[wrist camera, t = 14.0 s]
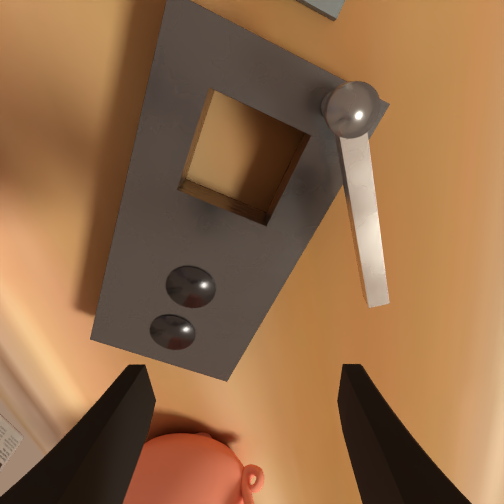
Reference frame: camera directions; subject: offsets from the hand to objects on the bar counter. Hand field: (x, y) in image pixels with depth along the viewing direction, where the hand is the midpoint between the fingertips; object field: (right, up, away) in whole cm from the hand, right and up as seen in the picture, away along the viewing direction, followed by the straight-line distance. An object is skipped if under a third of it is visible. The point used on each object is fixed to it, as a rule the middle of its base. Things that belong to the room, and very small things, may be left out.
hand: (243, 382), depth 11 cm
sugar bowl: (-5, -15, +20) cm, 26 cm away
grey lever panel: (-2, +6, +8) cm, 10 cm away
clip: (+5, +8, +4) cm, 10 cm away
